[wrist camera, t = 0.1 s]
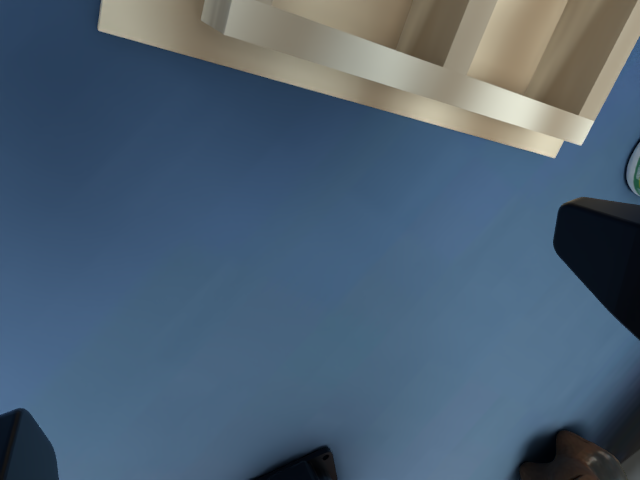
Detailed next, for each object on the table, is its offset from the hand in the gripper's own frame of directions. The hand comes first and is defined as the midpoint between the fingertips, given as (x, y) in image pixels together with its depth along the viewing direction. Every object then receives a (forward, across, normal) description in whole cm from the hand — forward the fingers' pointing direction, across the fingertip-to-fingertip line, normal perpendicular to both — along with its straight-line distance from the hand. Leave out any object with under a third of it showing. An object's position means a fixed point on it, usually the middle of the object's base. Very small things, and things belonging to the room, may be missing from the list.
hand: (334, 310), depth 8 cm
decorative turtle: (+15, -25, +43) cm, 52 cm away
